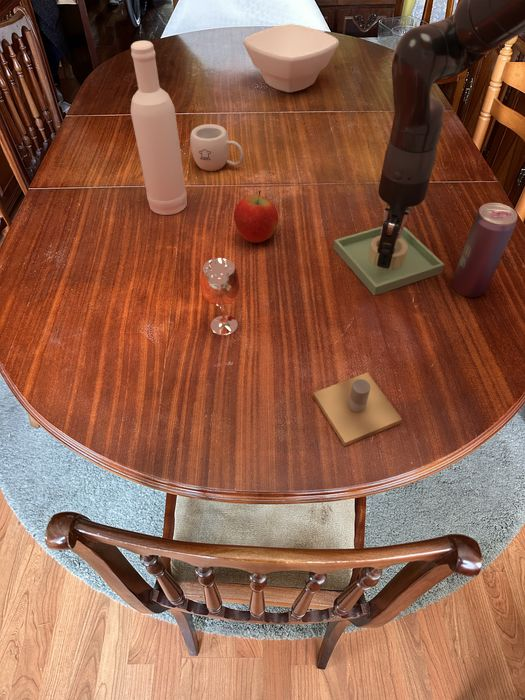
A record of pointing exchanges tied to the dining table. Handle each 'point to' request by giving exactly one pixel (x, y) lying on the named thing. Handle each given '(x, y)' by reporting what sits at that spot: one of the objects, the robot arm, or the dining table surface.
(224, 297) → the wineglass
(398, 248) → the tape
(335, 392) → the peg stand
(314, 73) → the bowl
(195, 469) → the dining table surface
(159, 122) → the bottle
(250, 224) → the apple
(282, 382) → the dining table surface
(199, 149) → the mug
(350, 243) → the tray
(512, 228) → the beverage can
